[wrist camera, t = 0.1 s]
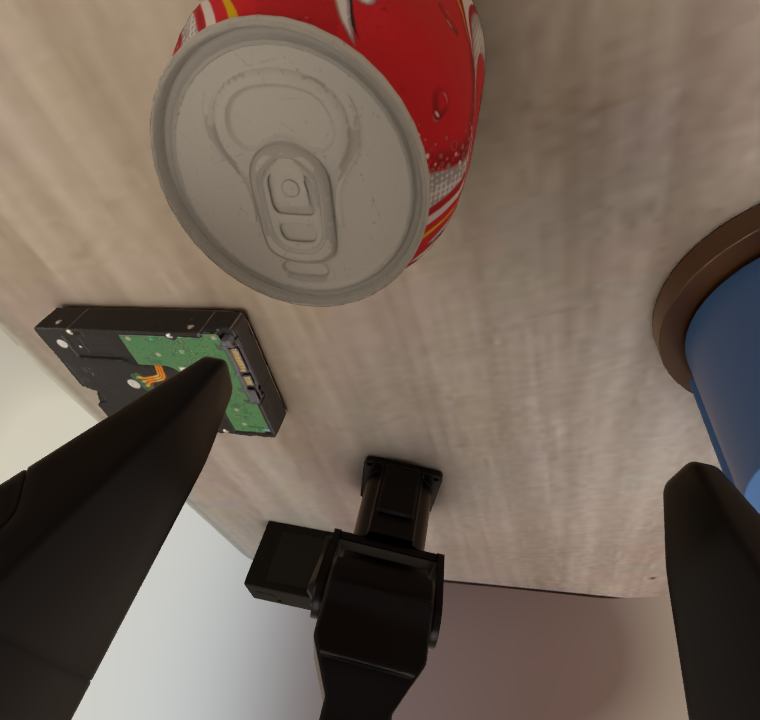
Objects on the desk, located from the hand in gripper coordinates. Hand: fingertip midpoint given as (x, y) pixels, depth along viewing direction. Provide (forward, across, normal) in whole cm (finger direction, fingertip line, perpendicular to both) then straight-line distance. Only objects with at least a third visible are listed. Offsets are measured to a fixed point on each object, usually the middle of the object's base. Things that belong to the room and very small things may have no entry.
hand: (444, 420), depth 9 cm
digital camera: (+15, +8, +45) cm, 48 cm away
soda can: (+15, +4, -3) cm, 16 cm away
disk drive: (+15, +18, +18) cm, 30 cm away
